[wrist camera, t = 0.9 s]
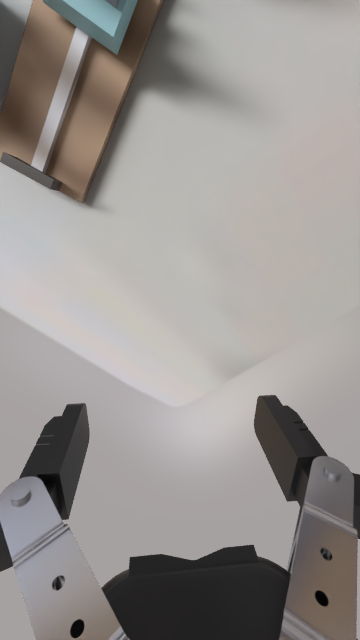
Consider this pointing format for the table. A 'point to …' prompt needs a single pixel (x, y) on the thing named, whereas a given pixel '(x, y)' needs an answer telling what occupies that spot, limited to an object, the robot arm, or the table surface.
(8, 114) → the rail base
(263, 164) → the table surface
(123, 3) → the carriage
